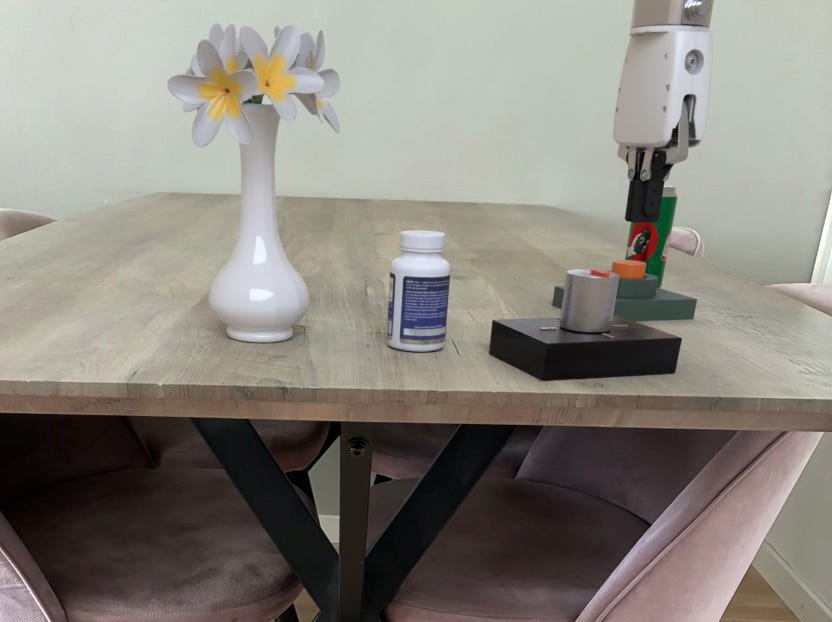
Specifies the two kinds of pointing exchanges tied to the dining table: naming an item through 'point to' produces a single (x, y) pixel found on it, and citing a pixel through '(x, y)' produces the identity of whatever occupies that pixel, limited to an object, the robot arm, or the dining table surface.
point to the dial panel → (583, 349)
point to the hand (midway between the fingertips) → (641, 221)
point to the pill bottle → (418, 293)
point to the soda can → (653, 237)
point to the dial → (589, 300)
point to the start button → (629, 268)
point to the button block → (644, 301)
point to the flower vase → (256, 162)
